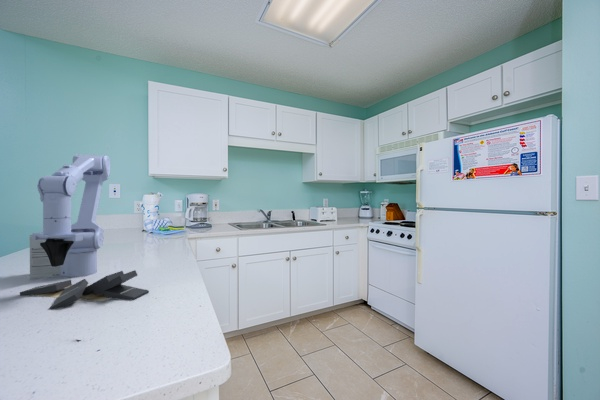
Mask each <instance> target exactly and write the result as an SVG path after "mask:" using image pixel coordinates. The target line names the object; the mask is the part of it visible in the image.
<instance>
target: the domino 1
mask: <svg viewBox="0 0 600 400" xmlns="http://www.w3.org/2000/svg"><path fill="white" fill-rule="evenodd" d="M72 284H73V283H72V280H71V279H68V280H67V279H66V280H64V281H59V282H58V281H57V282H54V283H53V282H52V283H49V284H45V285H44V284H43V285H39V286H35V287H33V288H29V289H26V290H23V291H20V292H19V296H25V297H27V296H35V295H39V294H43V293H48V292H53V291H57V290H60V289H63V288H65V287H68V286H71V285H72Z"/></svg>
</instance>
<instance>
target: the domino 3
mask: <svg viewBox="0 0 600 400" xmlns="http://www.w3.org/2000/svg"><path fill="white" fill-rule="evenodd" d="M123 274H125V273H124V271H123V270H121V271H117V272H113V273H111V274H108V275H105V276H104V277H102V278H100V279H98V280H97V281H94V282H93V283H91V284H88V286H87V287H86V288H85V290H84V291H83V293H82V295H86V294H88V293H91V292H94V289H96V288H98V287H100V286H101V285H103V284H105V283H107V282H109V281H111V280H113V279H114V278H116V277H118V276H120V275H123Z"/></svg>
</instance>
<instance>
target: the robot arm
mask: <svg viewBox="0 0 600 400" xmlns="http://www.w3.org/2000/svg"><path fill="white" fill-rule="evenodd" d="M71 161H72V162H71V164H64V165H62V167H61V168H59V169H58V170H57V171H55V172H54V173H52V174H51V175H44V176H42V177H41V178H39V179H38V183H37V187H36V188H37V191H38V193H39V196H40V197H39V199H40V202H42V232H39V231H38V232H32V234H33V240H46V241H45V242H42V243H40V246H41V247H42V248H43V249H44V250H45V252H46V253H47V255H48V258H49V261H50V263H51V266H52V267H57V266H61V275H60V276H61V277H69V278H82V277H87V276H92V275H94V274H96V273H98V250H99V249H100V248H101V247H102V246H103V243H104V230H103V229H104V228H103V227H102V226H101V225H99V224H97V223H96V221H97V216H98V211H99V204H100V200H101V193H102V188H103V185H104V182H105V181H107V180H108V179H109V176H110V174H111V168H112V165H111V164H112V163H111V159H110V157H109V156H108V155H105V154H104V155H100V154H99V155H97V154H96V155H95V154H81V153H75V154H74V155H73V157H72V160H71ZM81 181H84V182H85V184H84V190H83V194H82V198H81V202H80V208H79V212H78V216H77V219H76V220H77V221H76V222H75V223H72V196H73V195H75V193H76V189H77V187H78V184H79V183H80V182H81Z"/></svg>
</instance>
